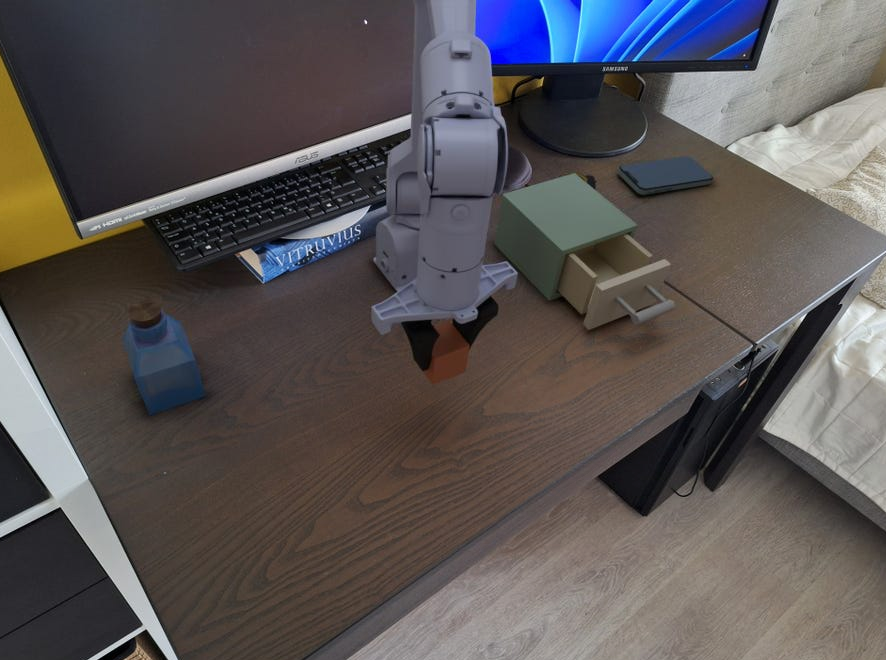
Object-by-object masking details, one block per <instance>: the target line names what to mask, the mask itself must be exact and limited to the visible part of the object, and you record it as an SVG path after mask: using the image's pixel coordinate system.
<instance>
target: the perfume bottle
mask: <svg viewBox="0 0 886 660" xmlns="http://www.w3.org/2000/svg"><path fill="white" fill-rule="evenodd" d="M127 314H128V317H129V318H130V319H129V324H130V325H129V326H128V327H127V329H126V331H125V333H124V335H123V337H122V342H123V345H124V348H125V351H126V355H127V358H128V361H129V364H130V368H131V371H132V375H133V377H134V381H135V382H136V385H137V387H138V389H139V393H140V395H141V397H142V399H143V402H144V404H145V407H146V409H147V411H148V414H149V415H150V416H151V415H154V414H157V413H159V412H163V411H166V410H169V409H171V408H175V407H178V406H181V405H184V404H186V403H190V402H192V401H195V400H199V399H202V398H205V397H207V394H206V391H205V388H204V384H203V381H202V378H201V374H200V370H199V367H198V363H197V361H196V358H195V355H194V352H193V351H192V347H191V345H190V343H189V340H188V338H187V335H186V333H185V331H184V328H183V325H182V322H181V321H179V320H178V319H175V318H173V317H172V316H170V315H166V313H165V311H163V309H162V305H161V304H160V302H158V301H157V300H155V299H149V298H148V299H147V298H145V299H140V300H138V301H136V302H134V303H133V304H131V305H130V306H129V308H128V310H127Z"/></svg>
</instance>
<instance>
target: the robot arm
mask: <svg viewBox="0 0 886 660" xmlns="http://www.w3.org/2000/svg"><path fill="white" fill-rule="evenodd" d="M412 2H413V5H414V24H413V25H414V26H413V53H412V54H413V55H412V56H413V57H412V58H413V59H412V61H413V62H412V83H411V84H412V85H411V112H410V113H411V114H410V115H411V116H410V137H409V138H407V139H406V140H404V141H403V142H401V143H400V144H398V145H395V147H393V148H391V149H390V150H389V154H388V155H387V168H386V169H385V170H386V173H385V182H386V183H385V199H386V200H385V201H386V204H385V206H386V211H387V212H388V213H389V216H388V217H386V218H384V219H382V220H381V221H378V222H377V224H376V226H375V256H374V257H373V260H372V261H373V263H374V264H375V265H376V267H377V268H378V269H379V270H380V272H381V274H382V275H383V276H384V277H385V278H386V280H387V281H388V282H389V284H390V285H391V286H392V287H393V289H394V290H395V291H396V292H395V293H394V294H392V295H391V296H389V297H388V298H386V299H385V300H383V301H381V302H379V303H377V304H374V305H371V323H372V325H373V326H374V327H375V329H376V331H377V332H378V333H379V335H380V336H383V335H386V334H389V333H391V332H392V327H393V326H395V325H398V324H401V326H402V328H403V331H404V333H405V334H406V337H407V339H408V342H409V345H410V348H411V353H412V359H413V360H414V362H415V364H416V365H417V367H419V369H420V370H421V372H422V371H425V370H428V369H429V366H430V363H431V357H432V350H433V347H434V344H435V342H436V340H437V339H438V337H439V336H440V334H439V333H438V331H437V330H436V329H435V328H434V325H433V323H432V320H441V319H443V320H444V319H452V322H451V323H452V324H453V325H454V327H455V328H456V329H457V330H458V332H459V333H460V334H461V335H462V337H463V338H464V339H465V340H466V342H467V343H468V344H469V345H470V347H469V351H470V350H471V348H472V347H473V344H474V342H475V341H476V339H477V338H478V336H479V334H480V333H481V332H482V330H483V329H484V328H485V327H486V326H487V324H489V322H490V321H492V320H493V319H494V318H496V317H497V316H498V315H499V308H500V306H499V304H498V302H497V301H496V299H494V298H493V297H492V296H493V295H494V294H495V293H496V292H497V291H498V290H500V289H501V288H503V289H504V290H505V291H510V290H513V289H515V288H516V284H517V279H518V275H519V272H517V270H515V268H514V267H513V266H512V265H511V264H510V263H509V262H508V261H507V260H506V261H502V262H499V263H492V264H484V257H485V252H486V245H487V237H488V231H489V224H490V218H491V211H492V205H493V198H494V192H495V194H496V195H497V196H500V195H501V194H502V192H503V190H504V186H505V184H506V183H505V182H506V177H507V173H508V172H507V171H508V163H509V142H508V131H507V125H506V121H505V118H504V116H502V110H501V107H500V106H496V105H495V97H494V83H493V69H492V58H491V52H490V50H489V47H488V45H486V43H485V42H484V41H483V40H482V39H481V38H479V36H476V16H477V14H476V13H477V0H412Z"/></svg>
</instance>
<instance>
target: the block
mask: <svg viewBox="0 0 886 660" xmlns="http://www.w3.org/2000/svg"><path fill="white" fill-rule="evenodd" d="M452 323H453V322H452V321H451V320H450V319H449V320H446V321H443V322H440V323H438V324H434V325H433V326H434V328H435V329H436V330H437V331H438V333H439V334H440V336H439V337H438V339H437V340H436V342H435V344H434V347H433V350H432V357H431V363H430V366H429V369H428V370H425V371H422V370H421V372H422V373H423V375H424V376H425V377H426V379H427V380H428V382H429V383H430V385H431V386H434V385H437V384H440V383H442V382H445V381H447V380H450V379H452V378H455V377H456V376H459V375H461V374H464V373H466V372H467V368H468V367H467V366H468V360H469V353H470V350H469V347H470V345H469V344H468V343H467V342H466V340H465V339H464V338H463V337H462V335H461V334H460V333H459V332H458V330H457V329H456V328H455V327H454V325H453V324H452Z"/></svg>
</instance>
